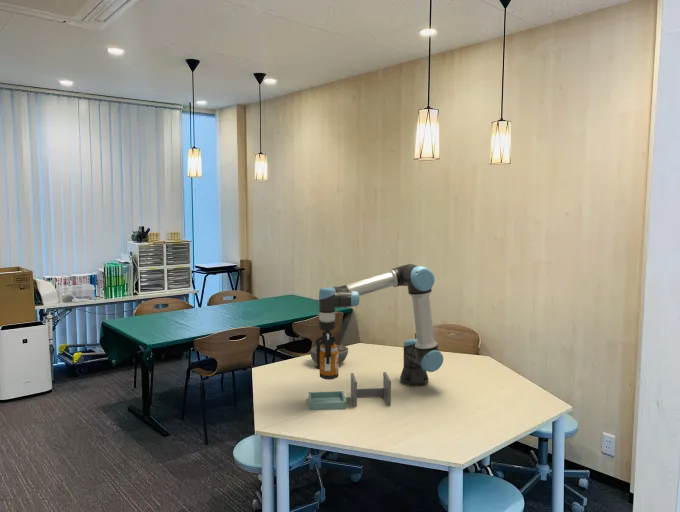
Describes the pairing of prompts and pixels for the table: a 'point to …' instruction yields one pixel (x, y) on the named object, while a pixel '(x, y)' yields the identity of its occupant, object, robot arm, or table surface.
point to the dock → (371, 390)
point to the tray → (327, 400)
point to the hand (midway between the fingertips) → (326, 367)
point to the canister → (321, 359)
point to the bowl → (341, 353)
